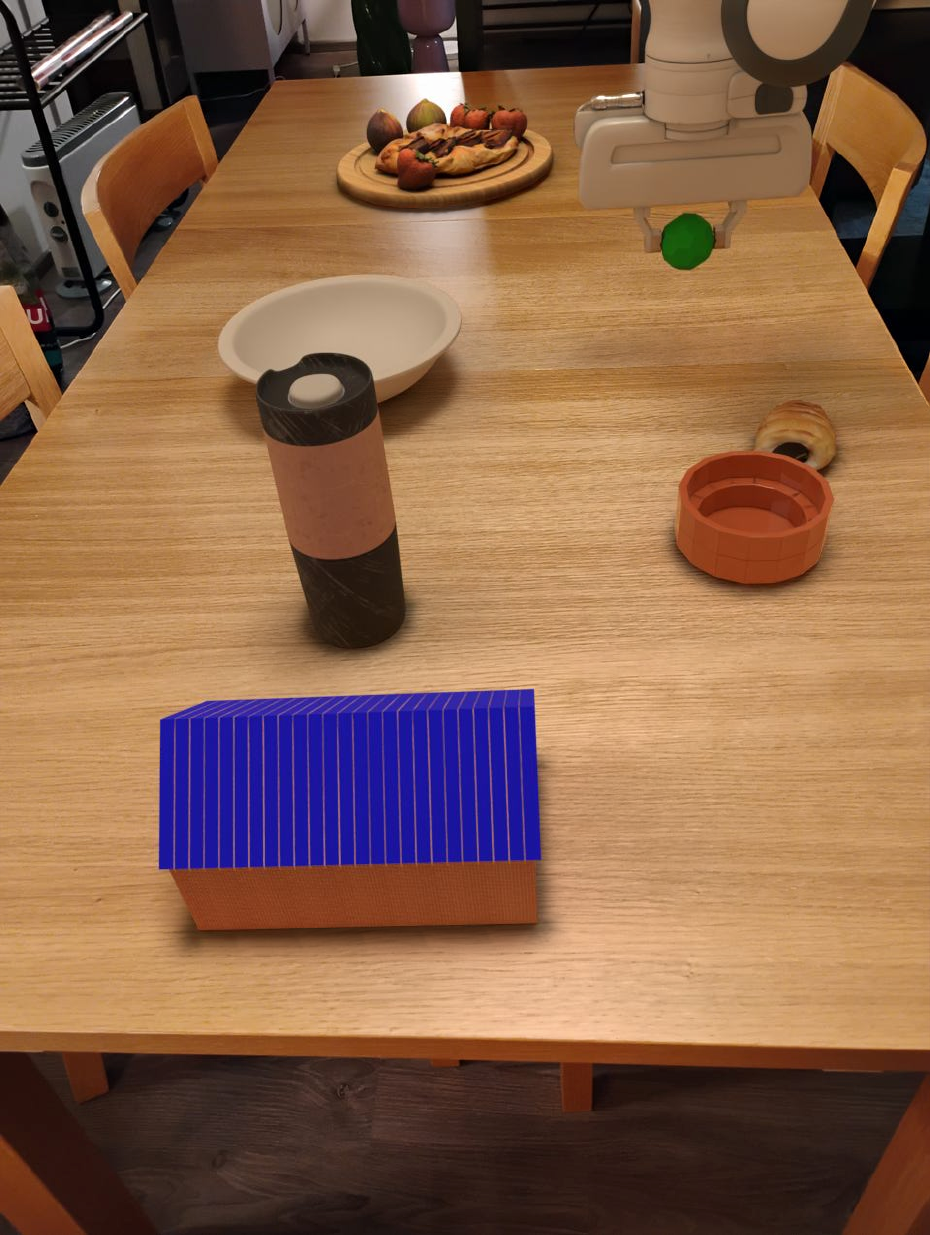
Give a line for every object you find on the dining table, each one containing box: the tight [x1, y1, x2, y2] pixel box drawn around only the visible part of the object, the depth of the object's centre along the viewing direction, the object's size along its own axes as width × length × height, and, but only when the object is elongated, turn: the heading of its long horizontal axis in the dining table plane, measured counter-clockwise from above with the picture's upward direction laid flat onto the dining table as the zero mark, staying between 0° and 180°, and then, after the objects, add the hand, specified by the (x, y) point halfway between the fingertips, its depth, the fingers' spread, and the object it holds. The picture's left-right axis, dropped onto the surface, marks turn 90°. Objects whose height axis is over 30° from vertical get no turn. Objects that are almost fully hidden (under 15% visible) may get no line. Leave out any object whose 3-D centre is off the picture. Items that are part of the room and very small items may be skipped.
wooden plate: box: [335, 98, 555, 209], centre depth 144 cm, size 32×32×8 cm
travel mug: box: [254, 353, 406, 649], centre depth 69 cm, size 8×8×20 cm
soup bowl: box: [217, 273, 463, 404], centre depth 100 cm, size 24×24×7 cm
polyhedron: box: [661, 212, 714, 271], centre depth 93 cm, size 5×5×5 cm
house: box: [158, 688, 542, 931], centre depth 56 cm, size 12×20×12 cm, turn 89°
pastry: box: [752, 399, 837, 471], centre depth 87 cm, size 9×7×4 cm
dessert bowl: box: [674, 450, 835, 584], centre depth 77 cm, size 11×11×5 cm
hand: (686, 248), depth 93 cm, fingers closed on polyhedron, 5 cm apart
